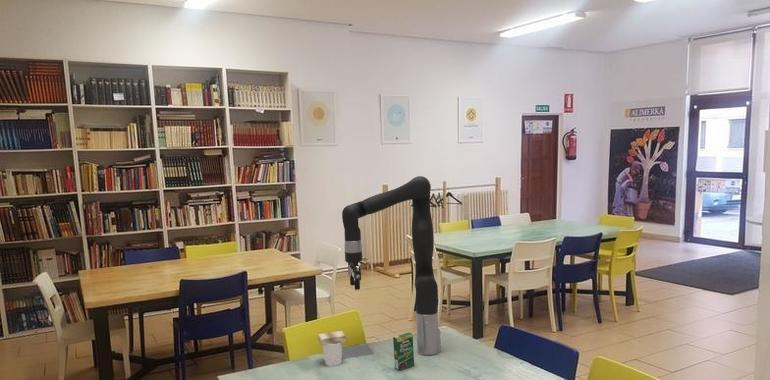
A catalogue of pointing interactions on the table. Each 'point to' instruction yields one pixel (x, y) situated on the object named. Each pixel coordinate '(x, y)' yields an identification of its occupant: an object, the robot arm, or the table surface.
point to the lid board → (332, 338)
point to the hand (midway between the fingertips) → (355, 287)
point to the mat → (356, 351)
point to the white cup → (333, 354)
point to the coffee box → (403, 351)
